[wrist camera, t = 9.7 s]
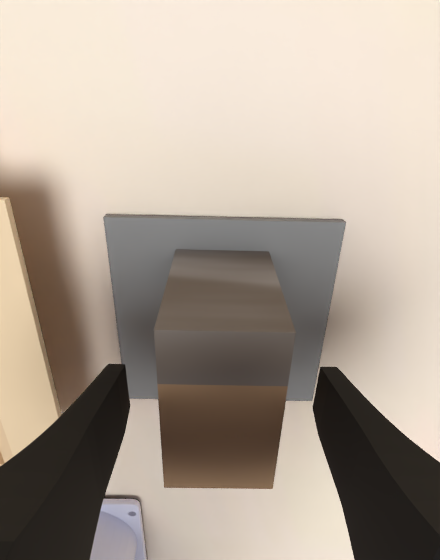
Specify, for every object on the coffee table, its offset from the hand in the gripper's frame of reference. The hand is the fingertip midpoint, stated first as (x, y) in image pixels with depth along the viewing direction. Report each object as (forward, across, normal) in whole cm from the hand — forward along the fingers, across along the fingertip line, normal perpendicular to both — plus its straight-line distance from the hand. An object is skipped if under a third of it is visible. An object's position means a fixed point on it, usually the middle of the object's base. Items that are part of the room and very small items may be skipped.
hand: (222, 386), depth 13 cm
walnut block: (+4, 0, 0) cm, 4 cm away
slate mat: (+5, 0, 0) cm, 5 cm away
